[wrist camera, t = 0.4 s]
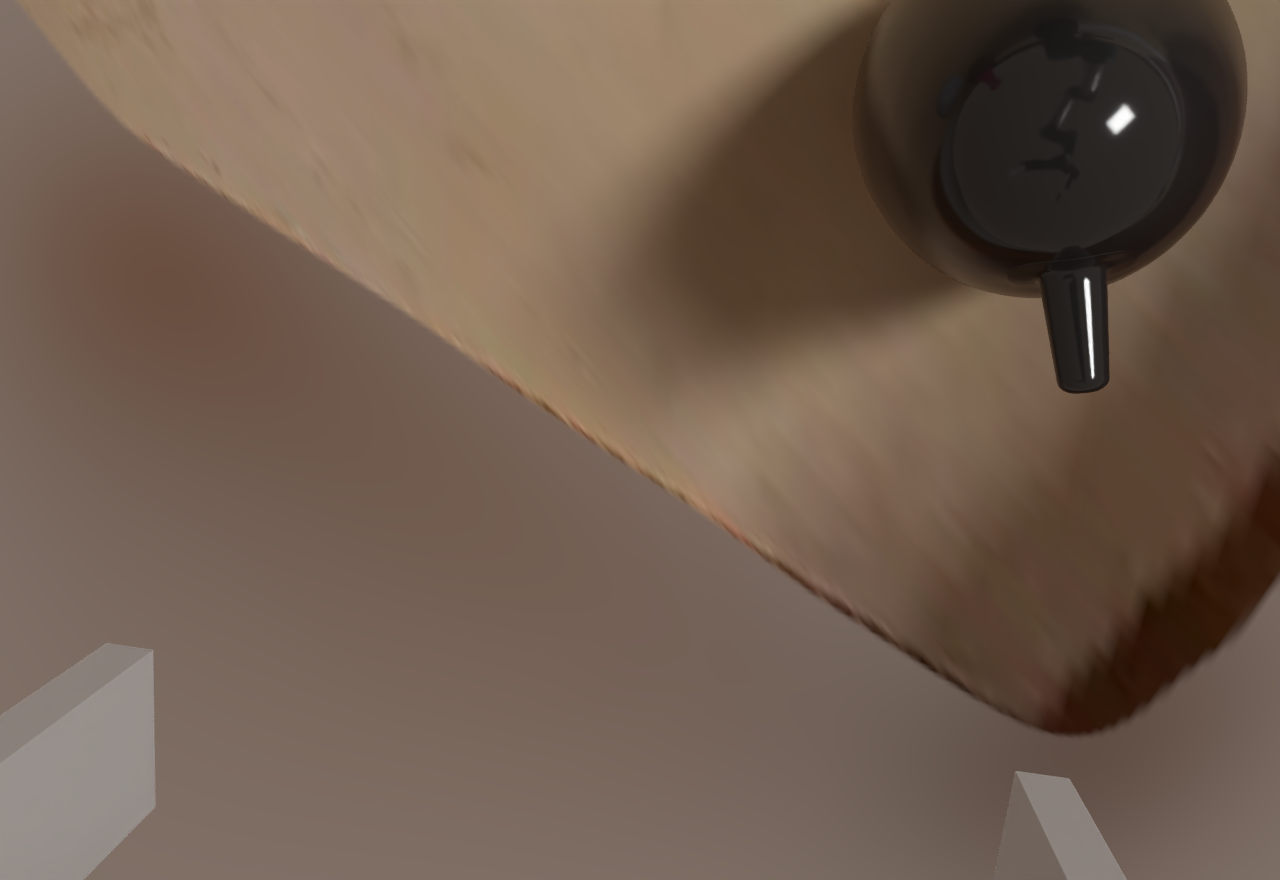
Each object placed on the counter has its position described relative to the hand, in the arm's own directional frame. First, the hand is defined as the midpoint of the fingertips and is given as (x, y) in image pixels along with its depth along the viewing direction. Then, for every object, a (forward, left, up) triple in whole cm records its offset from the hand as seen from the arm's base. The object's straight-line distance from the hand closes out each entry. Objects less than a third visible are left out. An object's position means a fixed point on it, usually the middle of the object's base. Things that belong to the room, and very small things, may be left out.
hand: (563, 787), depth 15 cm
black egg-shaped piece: (-10, -3, -26) cm, 28 cm away
